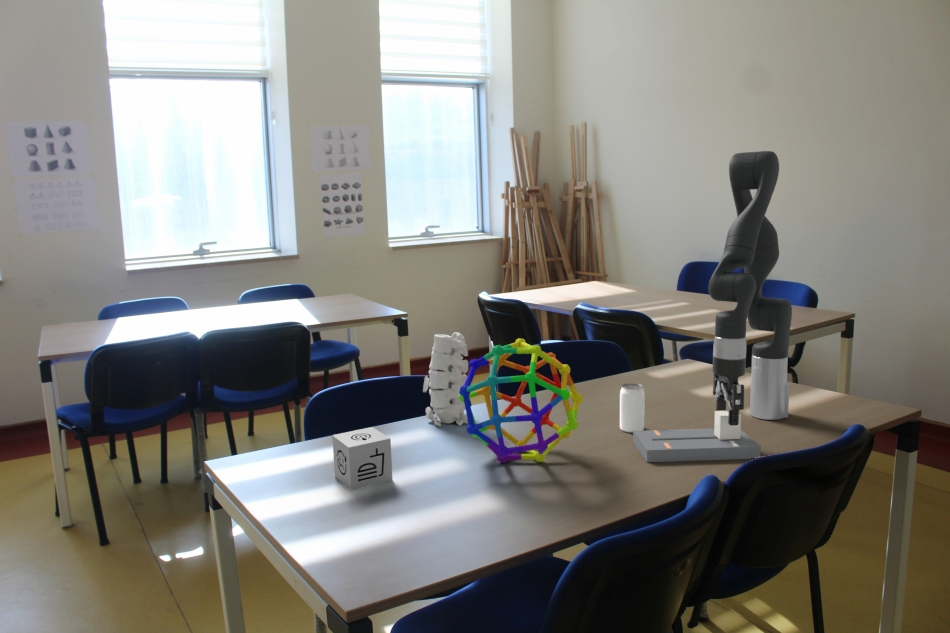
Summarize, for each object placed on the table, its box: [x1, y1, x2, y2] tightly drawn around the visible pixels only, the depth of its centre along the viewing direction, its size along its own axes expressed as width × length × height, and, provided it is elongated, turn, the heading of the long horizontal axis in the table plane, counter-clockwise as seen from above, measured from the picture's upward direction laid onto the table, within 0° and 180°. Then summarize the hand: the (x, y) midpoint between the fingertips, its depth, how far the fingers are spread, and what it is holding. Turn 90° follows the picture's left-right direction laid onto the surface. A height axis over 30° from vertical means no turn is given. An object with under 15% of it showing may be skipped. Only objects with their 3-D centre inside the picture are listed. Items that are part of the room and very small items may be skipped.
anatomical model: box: [422, 331, 469, 427], centre depth 205 cm, size 11×12×25 cm
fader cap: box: [713, 410, 742, 440], centre depth 178 cm, size 5×4×6 cm
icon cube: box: [332, 426, 393, 492], centre depth 167 cm, size 10×10×10 cm
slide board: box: [632, 427, 762, 463], centre depth 179 cm, size 27×14×3 cm, turn 91°
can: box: [619, 382, 646, 434], centre depth 195 cm, size 6×6×12 cm
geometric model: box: [459, 338, 584, 464], centre depth 174 cm, size 30×30×30 cm
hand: (726, 419), depth 178 cm, fingers open, 8 cm apart
